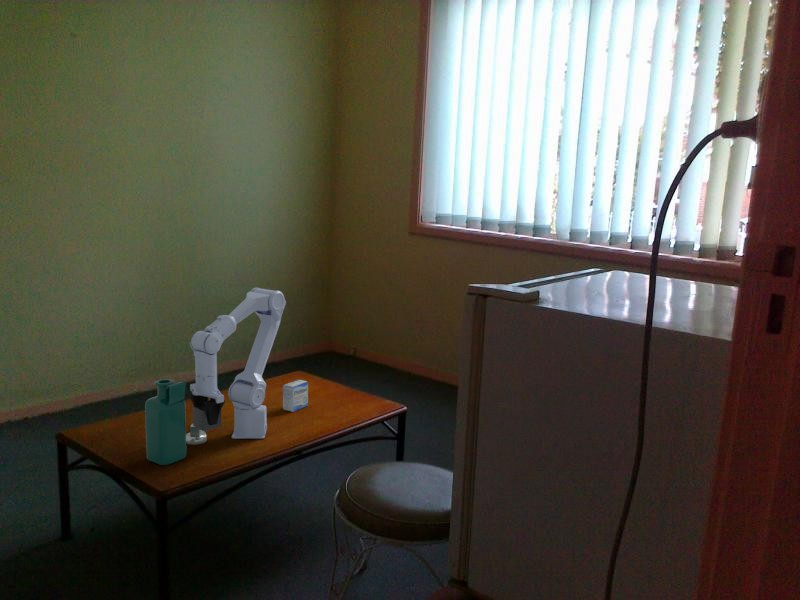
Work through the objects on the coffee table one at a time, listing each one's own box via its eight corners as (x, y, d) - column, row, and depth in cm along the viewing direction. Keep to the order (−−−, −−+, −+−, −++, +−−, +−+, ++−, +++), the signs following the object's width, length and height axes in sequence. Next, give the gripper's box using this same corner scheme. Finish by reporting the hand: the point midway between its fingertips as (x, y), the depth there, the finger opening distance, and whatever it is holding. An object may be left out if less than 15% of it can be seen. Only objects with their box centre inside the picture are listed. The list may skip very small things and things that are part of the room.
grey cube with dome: (211, 421, 202) (210, 401, 201) (221, 426, 198) (221, 406, 197) (193, 425, 198) (192, 406, 197) (203, 431, 194) (203, 411, 193)
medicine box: (293, 412, 232) (293, 387, 231) (282, 409, 235) (282, 384, 233) (308, 406, 239) (308, 381, 237) (298, 403, 241) (298, 379, 240)
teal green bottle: (143, 459, 192) (140, 380, 188) (169, 449, 199) (167, 374, 195) (167, 468, 186) (164, 388, 183) (192, 458, 193) (191, 380, 189)
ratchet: (194, 424, 219) (194, 409, 218) (214, 424, 220) (214, 409, 219) (183, 445, 203) (182, 429, 202) (204, 444, 203) (204, 428, 202)
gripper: (179, 371, 198) (181, 417, 200) (207, 383, 188) (208, 431, 190) (202, 366, 203) (203, 412, 205) (230, 378, 193) (231, 425, 195)
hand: (207, 421), depth 198 cm, fingers closed on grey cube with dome, 6 cm apart
